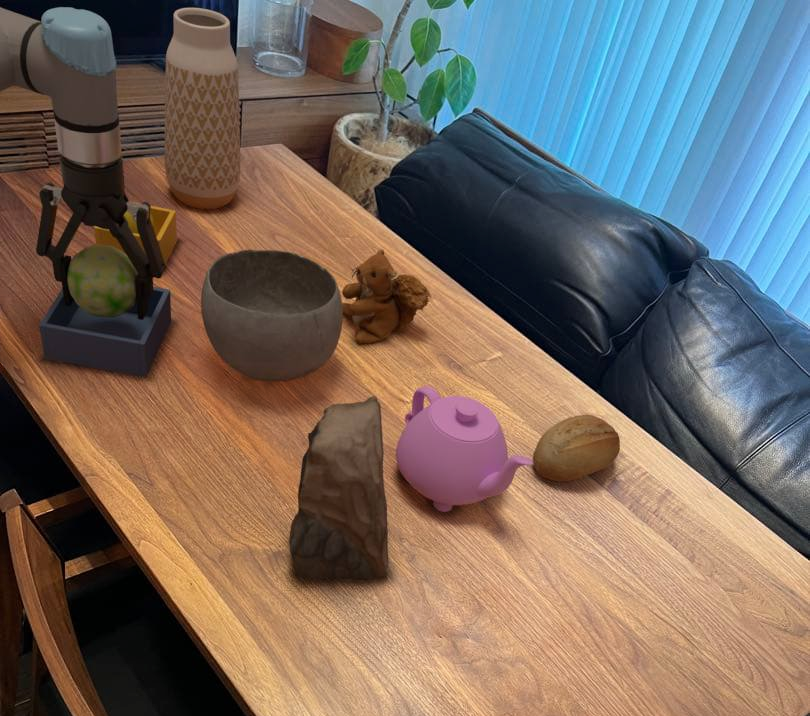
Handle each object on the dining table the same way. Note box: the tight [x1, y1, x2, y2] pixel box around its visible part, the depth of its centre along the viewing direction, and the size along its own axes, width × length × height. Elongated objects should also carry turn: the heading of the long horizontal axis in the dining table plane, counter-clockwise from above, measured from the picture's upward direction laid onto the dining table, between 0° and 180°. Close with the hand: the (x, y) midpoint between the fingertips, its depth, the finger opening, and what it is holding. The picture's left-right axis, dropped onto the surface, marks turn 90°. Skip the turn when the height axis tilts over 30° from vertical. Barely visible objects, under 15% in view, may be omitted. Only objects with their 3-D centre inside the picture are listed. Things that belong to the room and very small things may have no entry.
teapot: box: [395, 385, 534, 513], centre depth 109 cm, size 22×16×14 cm
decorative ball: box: [67, 244, 138, 318], centre depth 115 cm, size 10×10×10 cm
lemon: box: [124, 201, 154, 234], centre depth 135 cm, size 6×6×8 cm
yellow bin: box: [93, 202, 178, 265], centre depth 137 cm, size 11×11×6 cm
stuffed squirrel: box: [341, 248, 433, 344], centre depth 132 cm, size 10×14×13 cm
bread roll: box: [532, 414, 621, 482], centre depth 119 cm, size 10×15×8 cm, turn 125°
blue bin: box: [38, 286, 172, 378], centre depth 120 cm, size 15×15×6 cm
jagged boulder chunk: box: [288, 395, 389, 581], centre depth 96 cm, size 13×13×20 cm
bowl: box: [200, 249, 344, 383], centre depth 119 cm, size 20×20×15 cm
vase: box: [164, 7, 241, 210], centre depth 144 cm, size 14×14×31 cm
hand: (107, 307), depth 118 cm, fingers closed on decorative ball, 10 cm apart
